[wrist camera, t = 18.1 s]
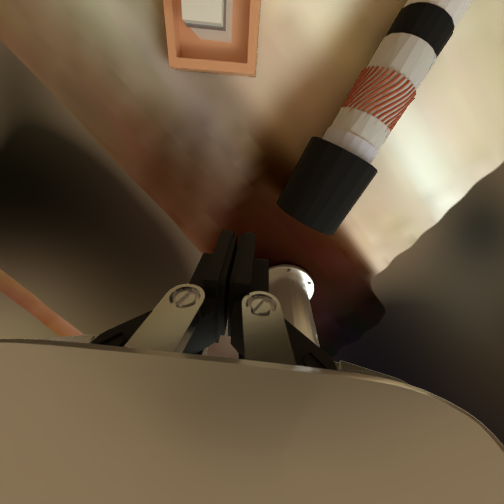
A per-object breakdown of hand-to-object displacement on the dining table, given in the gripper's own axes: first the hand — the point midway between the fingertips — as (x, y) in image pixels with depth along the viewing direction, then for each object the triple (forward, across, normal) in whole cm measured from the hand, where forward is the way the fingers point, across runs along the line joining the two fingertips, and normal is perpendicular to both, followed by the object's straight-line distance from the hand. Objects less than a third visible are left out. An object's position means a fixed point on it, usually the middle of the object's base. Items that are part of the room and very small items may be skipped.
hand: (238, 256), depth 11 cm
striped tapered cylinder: (+30, -14, -8) cm, 34 cm away
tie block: (+28, +7, -16) cm, 33 cm away
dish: (+29, +7, -16) cm, 34 cm away
